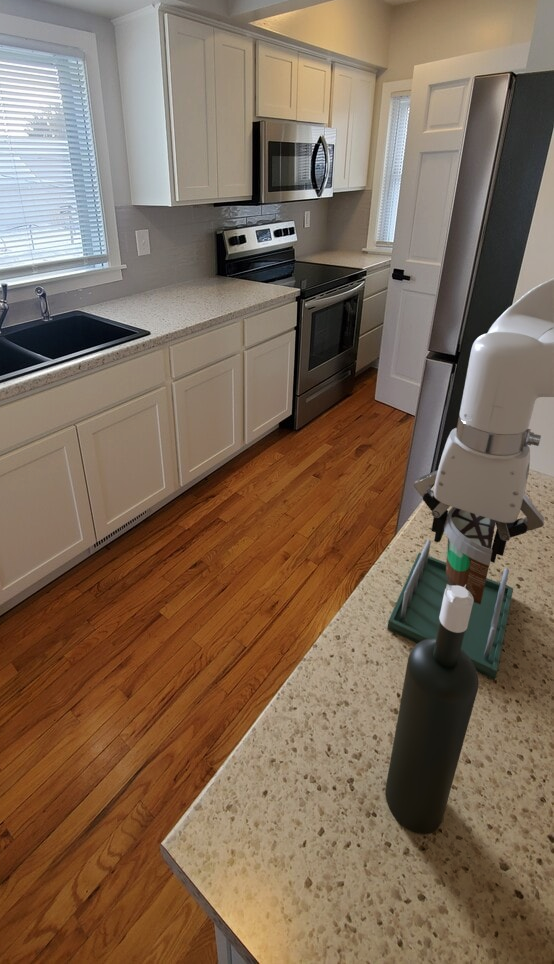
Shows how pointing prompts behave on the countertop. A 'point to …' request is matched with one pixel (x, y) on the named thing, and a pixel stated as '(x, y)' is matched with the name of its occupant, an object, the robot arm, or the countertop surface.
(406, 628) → the drying rack
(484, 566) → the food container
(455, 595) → the wine bottle
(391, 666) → the countertop surface
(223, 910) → the countertop surface
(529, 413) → the robot arm
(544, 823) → the countertop surface
